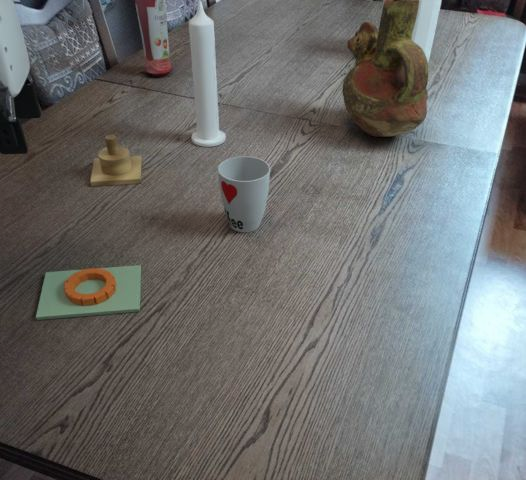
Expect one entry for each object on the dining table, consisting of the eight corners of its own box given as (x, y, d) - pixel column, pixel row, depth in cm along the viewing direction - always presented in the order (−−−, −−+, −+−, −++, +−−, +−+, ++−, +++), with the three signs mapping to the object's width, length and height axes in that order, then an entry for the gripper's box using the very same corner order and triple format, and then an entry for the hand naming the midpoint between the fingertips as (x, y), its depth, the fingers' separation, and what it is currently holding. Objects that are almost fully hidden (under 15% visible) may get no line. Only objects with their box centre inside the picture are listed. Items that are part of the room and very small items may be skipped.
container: (373, 48, 153) (384, -28, 140) (424, 50, 153) (440, -27, 140) (378, 67, 143) (391, -14, 130) (434, 69, 143) (451, -12, 130)
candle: (186, 145, 112) (173, 4, 94) (197, 130, 117) (187, -7, 99) (220, 149, 111) (213, 7, 93) (229, 134, 116) (224, -4, 98)
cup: (214, 215, 94) (211, 160, 86) (259, 207, 96) (259, 152, 89) (229, 241, 88) (227, 185, 81) (276, 232, 90) (278, 176, 83)
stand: (91, 186, 100) (82, 150, 95) (95, 163, 106) (87, 127, 101) (141, 183, 101) (135, 147, 96) (142, 160, 107) (136, 124, 102)
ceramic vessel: (373, 99, 129) (392, -28, 111) (447, 145, 113) (483, 5, 95) (310, 113, 123) (319, -18, 105) (378, 163, 107) (403, 18, 89)
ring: (63, 307, 76) (61, 301, 75) (69, 276, 81) (67, 269, 80) (114, 303, 77) (113, 297, 76) (117, 272, 82) (115, 266, 81)
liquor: (161, 81, 135) (144, -58, 115) (138, 75, 138) (118, -62, 118) (179, 72, 140) (166, -64, 120) (157, 66, 142) (140, -68, 122)
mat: (36, 320, 75) (35, 317, 75) (46, 275, 82) (45, 272, 82) (140, 311, 77) (139, 308, 76) (141, 268, 84) (140, 264, 83)
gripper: (-43, -48, 62) (4, 106, 74) (-93, -6, 50) (-26, 169, 62) (26, -48, 62) (62, 105, 75) (-6, -6, 51) (42, 167, 63)
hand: (22, 134), depth 68 cm, fingers open, 9 cm apart
